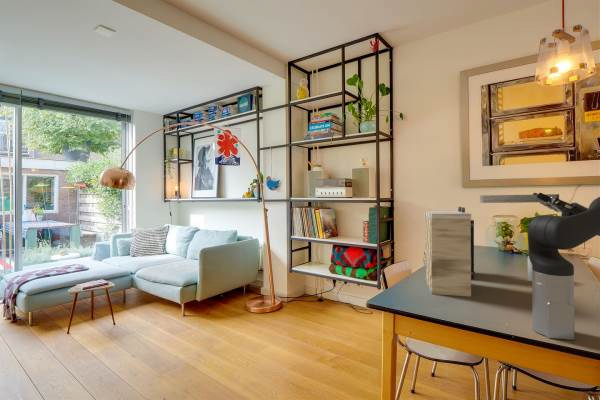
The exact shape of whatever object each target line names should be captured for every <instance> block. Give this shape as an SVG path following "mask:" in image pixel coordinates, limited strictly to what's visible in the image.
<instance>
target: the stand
mask: <svg viewBox="0 0 600 400" xmlns="http://www.w3.org/2000/svg"><path fill="white" fill-rule="evenodd" d="M471 220H472V213H469V212H466V207H464V206H463V207H462V206H458V209H457V210H424V223H425V225H424V229H425V230H424V231H425V232H424V236H425V237H424V241H425V242H424V243H425V244H424V245H425V246H424V247H425V249H424V251H425V252H424V253H425V255H424V256H425V282H426V284H427V287H428V286H429V287H428V289H429V291H430V293H431V294H432V295H443V296H456V297H457V296H458V297H459V296H460V297H472V281H471V280H472V278H471Z"/></svg>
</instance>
